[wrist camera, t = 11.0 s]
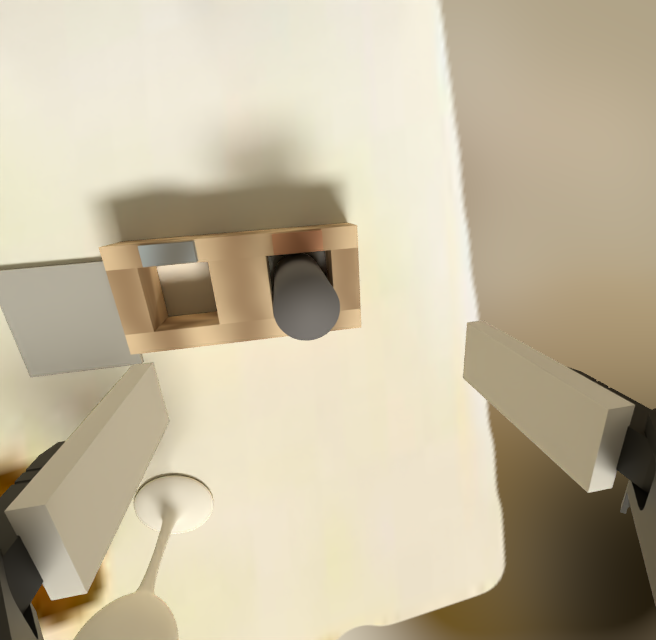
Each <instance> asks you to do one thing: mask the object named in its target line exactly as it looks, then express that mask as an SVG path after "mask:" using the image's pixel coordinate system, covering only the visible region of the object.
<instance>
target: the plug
mask: <svg viewBox="0 0 656 640" xmlns="http://www.w3.org/2000/svg"><path fill="white" fill-rule="evenodd" d="M273 314H274V318H275V321H276V323H277V325H278V326H279V328H280V329H281V330H282V331H283V332H284V333H285V334H287V335H288V336H290V337H292V338H295V339H298V340H314V339H317V338H320V337H322V336H324V335H325V334H327V333H328V332H329V331H330V330H331V329H332V328H333V327H334V326H335V324H336V322H337V320H338V317H339V314H340V301H339V298H338V295H337V293H336V292H335V290H334V288H333V287H332V285H331V284H330V282H329V281H328V279H327V278H326V276H325V275H324V273H323V272H322V270H321V269H320V267H319V266H318V264H317V263H316V261H315V260H314V259H313V258H312V257H310V256H309V255H307V254H304V253H294V254H288V255H286V256H284V257H283V258H282V259H281V260H280V261H279V262H278V264H277V266H276V268H275V274H274V299H273Z"/></svg>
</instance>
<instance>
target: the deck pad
mask: <svg viewBox="0 0 656 640" xmlns="http://www.w3.org/2000/svg"><path fill="white" fill-rule="evenodd" d="M0 306H1V309H2V311H3V313H4V316H5V318H6V321H7V323H8V325H9V328H10V330H11V332H12V335H13V337H14V339H15V342H16V344H17V347H18V349H19V351H20V354H21V356H22V358H23V361H24V363H25V365H26V368H27V370H28V373H29V375H30V377H36V376H44V375H53V374H61V373H69V372H77V371H85V370H94V369H102V368H110V367H118V366H126V365H134V364H142V363H143V362H144V361H143V358H142V354H133V355H131V354H130V350H129V347H128V344H127V340H126V337H125V334H124V330H123V327H122V324H121V320H120V317H119V314H118V310H117V307H116V304H115V300H114V297H113V294H112V290H111V287H110V284H109V280H108V277H107V274H106V270H105V267H104V264H103V261H98V262H86V263H75V264H64V265H53V266H42V267H30V268H19V269H8V270H0Z"/></svg>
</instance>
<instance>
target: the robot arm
mask: <svg viewBox="0 0 656 640" xmlns="http://www.w3.org/2000/svg"><path fill="white" fill-rule="evenodd" d="M463 378H464V379H465V380H466V381H467V382H468V383H469V384H470V385H471V386H472V387H473V388H474V389H476V390H477V391H478V392H479V393H480V394H481V395H482V396H483V397H484V398H485V399H486V400H488V401H489V402H490V403H491V404H492V405H493V406H494V407H495V408H496V409H498V411H500V412H501V413H502V414H503V415H504V416H505V417H506V418H507V419H508V420H509V421H510V422H512V423H513V424H514V425H515V426H516V427H517V428H518V429H519V430H520V431H521V432H523V434H525V435H526V436H527V437H528V438H529V439H530V440H531V441H532V442H533V443H534V444H536V445H537V446H538V447H539V448H540V449H541V450H542V451H543V452H544V453H545V454H546V455H547V456H549V457H550V458H551V459H552V460H553V461H554V462H555V463H556V464H557V465H558V466H559V467H560V468H562V469H563V470H564V471H565V472H566V473H567V474H568V475H569V476H570V477H571V478H572V479H574V480H575V481H576V482H577V483H578V484H579V485H580V486H581V487H582V488H583V489H585V490H586V491H587V492H588V493H589V492H594V491H599V490H604V489H609V488H612V486H613V483H614V479H615V476H616V472H617V470H618V471H619V472H620V473H622V474H623V475H624V476H626V477H627V478H628V479H629V482H628V485H627V489H626V492H625V495H624V499H623V502H622V505H621V512H622V513H626V511H627V508H628V507H631V510H632V514H633V518H634V522H635V526H636V530H637V534H638V538H639V542H640V546H641V550H642V554H643V558H644V562H645V566H646V570H647V574H648V578H649V582H650V586H651V590H652V594H653V598H654V602H655V606H656V409H653V410H651V409H649V408H647V407H645V406H644V405H642V404H640V403H638V402H636V401H634V400H633V399H631V398H629V397H627V396H625V395H623V394H622V393H620V392H618V391H616V390H614V389H612V388H608V386H607V385H605V384H603V383H601V382H600V381H598V382H597V381H596V379H594V378H592V377H590V376H588V375H587V374H585V373H583V372H581V371H578V370H575V369H572V368H569V367H566V366H564V365H562V364H561V363H559V362H557V361H555V360H553V359H552V358H550V357H548V356H546V355H544V354H542V353H541V352H539V351H537V350H535V349H534V348H532V347H530V346H528V345H526V344H525V343H523V342H521V341H519V340H517V339H516V338H514V337H512V336H510V335H508V334H507V333H505V332H503V331H501V330H499V329H497V328H496V327H494V326H492V325H490V324H489V323H487V322H485V321H476V322H468V323H467V331H466V345H465V358H464V372H463ZM168 423H169V418H168V414H167V411H166V407H165V403H164V400H163V396H162V393H161V389H160V385H159V382H158V378H157V374H156V371H155V367H154V364H153V362H152V363H144V364H136V365H132V366H131V367H130V368H129V370H128V371H127V372H126V373H125V374H124V375H123V376H122V378H121V379H120V380H119V381H118V382H117V383H116V384H115V386H114V387H113V388H112V389H111V390H110V391H109V392H108V394H107V395H106V396H105V397H104V398H103V399H102V400H101V401H100V403H99V404H98V405H97V406H96V407H95V408H94V409H93V411H92V412H91V413H90V414H89V415H88V416H87V417H86V419H85V420H84V421H83V422H82V423H81V424H80V425H79V427H78V428H77V429H76V430H75V431H74V432H73V433H72V435H71V436H70V437H69V438H68V439H67V440H66V441H63V442H58V443H56V444H55V445H54V446H52V447H51V448H49V449H48V450H46V451H45V452H44V453H42V454H41V455H39V456H38V457H37V459H36V460H35V461H34V462H33V463H32V464H31V465H30V466H29V467H28V468H27V469H26V472H25V473H23V474H22V475H21V476H20V477H19V478H18V479H17V480H16V481H15V484H14V485H11V486H10V487H9V489H8V490H7V491H6V492H5V493H4V494H3V495H2V496H1V497H0V640H44V639H43V635H42V632H41V628H40V624H39V621H38V617H37V613H36V611H35V609H34V607H33V605H32V604H31V601H32V599H33V598H34V596H35V594H36V593H37V591H38V590H39V588H40V586H41V585H42V584H43V585H44V587H45V589H46V591H47V593H48V595H49V597H50V599H51V600H56V599H61V598H66V597H71V596H76V595H81V594H86V593H87V592H88V590H89V588H90V586H91V584H92V582H93V580H94V578H95V575H96V573H97V571H98V569H99V567H100V565H101V563H102V561H103V559H104V557H105V555H106V553H107V550H108V548H109V546H110V544H111V542H112V540H113V538H114V536H115V534H116V532H117V530H118V527H119V525H120V523H121V521H122V519H123V517H124V515H125V513H126V511H127V509H128V507H129V505H130V502H131V500H132V498H133V496H134V494H135V492H136V490H137V488H138V486H139V484H140V482H141V480H142V477H143V475H144V473H145V471H146V469H147V467H148V465H149V463H150V461H151V459H152V457H153V455H154V452H155V450H156V448H157V446H158V444H159V442H160V440H161V438H162V436H163V434H164V432H165V429H166V427H167V425H168Z"/></svg>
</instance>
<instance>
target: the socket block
mask: <svg viewBox="0 0 656 640" xmlns="http://www.w3.org/2000/svg"><path fill="white" fill-rule="evenodd" d="M99 250H100V254H101V257H102V260H103V264H104V267H105V270H106V274H107V277H108V280H109V284H110V287H111V290H112V294H113V297H114V300H115V304H116V307H117V310H118V314H119V317H120V320H121V324H122V327H123V330H124V334H125V337H126V340H127V344H128V347H129V350H130V354H131V355H133V354H141V353H150V352H158V351H167V350H175V349H183V348H192V347H200V346H209V345H217V344H225V343H234V342H242V341H251V340H259V339H267V338H276V337H284V336H288V335H287V334H285V333H284V332H283V331H282V330H281V329H280V328H279V326H278V325H277V323H276V321H275V318H274V314H273V291H272V283H271V276H270V268H269V261H268V256H272V255H283V254H294V253H305V252H315V251H325V256H326V270H327V279H328V281H329V282H330V284H331V285H332V287H333V288H334V290H335V292H336V293H337V295H338V298H339V301H340V314H339V317H338V320H337V322H336V324H335V326H334V327H333V328H332V329H331V330H330V331H335V330H343V329H351V328H360V327H361V311H360V286H359V261H358V236H357V225H354V224H350V223H338V224H326V225H314V226H302V227H290V228H279V229H267V230H255V231H243V232H231V233H219V234H207V235H195V236H183V237H171V238H159V239H147V240H135V241H124V242H118V243H114V244H110V245H106V246H102V247H99ZM207 261H208V266H209V271H210V276H211V281H212V286H213V292H214V297H215V302H216V307H217V311H216V312H207V313H198V314H189V315H180V316H170V317H168V313H167V309H166V305H165V301H164V297H163V293H162V289H161V284H160V280H159V276H158V272H157V268H156V266H164V265H175V264H186V263H196V262H207Z"/></svg>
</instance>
